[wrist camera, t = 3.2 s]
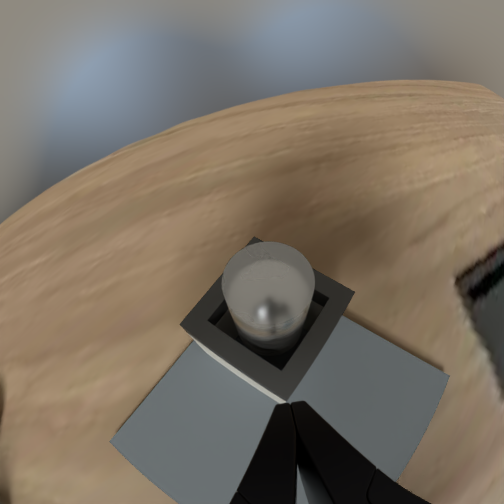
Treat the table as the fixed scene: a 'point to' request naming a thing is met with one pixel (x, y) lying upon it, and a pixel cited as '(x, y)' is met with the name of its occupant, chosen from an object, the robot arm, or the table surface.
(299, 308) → the button
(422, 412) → the mat
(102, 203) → the table surface
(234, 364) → the housing
